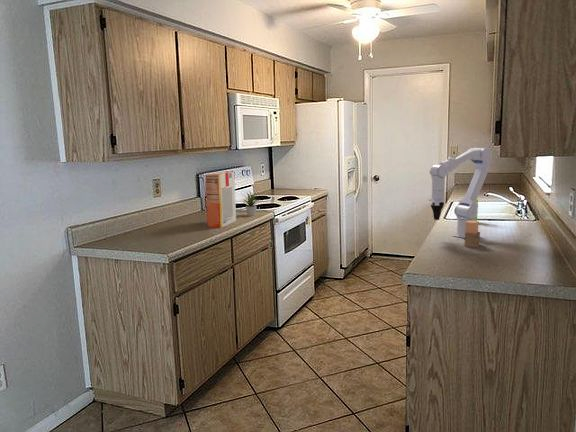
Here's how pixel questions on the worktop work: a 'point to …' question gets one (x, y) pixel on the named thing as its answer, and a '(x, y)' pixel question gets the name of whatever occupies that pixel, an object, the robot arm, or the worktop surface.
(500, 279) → the worktop surface
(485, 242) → the worktop surface
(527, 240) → the worktop surface
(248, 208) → the house plant
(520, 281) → the worktop surface
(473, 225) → the terracotta block
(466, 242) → the tower base
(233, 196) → the pasta box
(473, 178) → the robot arm
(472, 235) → the tower top
